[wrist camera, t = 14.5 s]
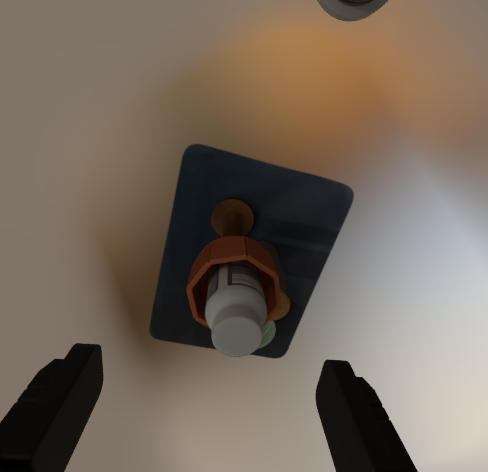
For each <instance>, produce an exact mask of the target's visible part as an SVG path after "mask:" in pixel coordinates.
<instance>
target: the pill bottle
mask: <svg viewBox="0 0 488 472" xmlns="http://www.w3.org/2000/svg"><path fill="white" fill-rule="evenodd" d="M205 317H206V321H207V324H208V326H209V327H210V329H211V330H212V342H213V344H214V346H215V348H216V349H217V350H218V351H220V352H221V353H223V354H225V355H227V356H232V357H241V356H245V355H248V354H250V353H252V352H254V351H255V350H256V349H257V348H258V347H259V346H260V344H261V342H262V338H263V332H262V326H263V325H264V323H265V321H266V317H267V306H266V301H265V297H264V292H263V287H262V282H261V277H260V272H259V269H258V267H257V266H255V265H254V264H252V263H251V262H249V261H248V260H240V261H233V262H226V263H219V264H213V265H212V267H211V270H210V275H209V283H208V293H207V300H206V308H205Z"/></svg>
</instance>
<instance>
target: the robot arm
mask: <svg viewBox="0 0 488 472" xmlns="http://www.w3.org/2000/svg"><path fill="white" fill-rule="evenodd" d="M338 1H340V2H341V3H343V4H345V5H348V6H362V5H365V4H368V3H370V2H372V1H373V0H338ZM102 385H103V364H102V351H101V346H100V345H97V344H96V345H95V344H81V343H77V344H75V345H74V346H73V347H72V348H71V350H70V351H69V353H68V354H67V356H66V357H65V358H64V359H54V360H53V361H52V362H50V363H49V364H48V365H46V366H45V367H44V368H42V369H41V370H40V371H39V372H38V373H37V374H36V376H35V377H34V378H33V380H32V381H31V382H30V384H29V385H28V386H27V389H26V390H24V392H23V393H22V394H21V396H20V397H19V399H18V401H17V403H15V404H14V405H13V406H12V408H11V409H10V411H9V412H8V413H7V415H6V416H5V417H4V419H3V420H2V421H1V423H0V472H64V471H65V469H66V466H67V465H68V462H69V460H70V458H71V456H72V454H73V451H74V449H75V447H76V445H77V443H78V441H79V439H80V436H81V434H82V432H83V430H84V428H85V426H86V424H87V422H88V419H89V417H90V415H91V413H92V411H93V409H94V406H95V404H96V402H97V400H98V398H99V395H100V392H101V389H102ZM316 405H317V409H318V413H319V416H320V419H321V423H322V426H323V429H324V433H325V436H326V439H327V442H328V446H329V449H330V452H331V456H332V459H333V462H334V466H335V469H336V472H418V471H417V469H416V468H415V466H414V464H413V462H412V460H411V458H410V456H409V454H408V452H407V451H406V449H405V447H404V445H403V443H402V441H401V439H400V437H399V435H398V434H397V432H396V430H395V428H394V426H393V424H392V422H391V421H390V420H389V417H388V415H387V413H386V411H385V409H384V408H383V407H382V403H381V401H380V400H379V398H378V396H377V394H376V392H375V390H374V389H373V388H372V387H371V386H370V385H369V384H368V383H367V382H366V381H365V379H364V378H363V377H356V376H355V374H354V372H353V369H352V367H351V365H350V364H349V362H347V361H341V360H326V361H325V362H324V365H323V368H322V372H321V375H320V378H319V382H318V385H317V388H316Z"/></svg>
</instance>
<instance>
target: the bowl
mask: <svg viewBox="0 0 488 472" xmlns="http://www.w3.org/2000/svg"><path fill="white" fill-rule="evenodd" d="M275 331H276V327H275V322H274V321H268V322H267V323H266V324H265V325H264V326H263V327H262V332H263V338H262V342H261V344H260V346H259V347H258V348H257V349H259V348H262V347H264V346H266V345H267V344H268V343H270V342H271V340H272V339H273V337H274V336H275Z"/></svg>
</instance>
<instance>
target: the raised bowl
mask: <svg viewBox="0 0 488 472" xmlns="http://www.w3.org/2000/svg"><path fill="white" fill-rule="evenodd" d="M240 260H248V261H249V262H251V263H252V264H254V265H255V266H257V267H258V269H259V272H260V277H261V282H262V287H263V292H264V297H265V301H266V306H267V317H266V321H265V323H264V325H265V324H266V323H267V322H268V321H269V320H270V319H271V318H272V317H273V316H274V315H275V313H276V312H277V311H278V310H279V309H280V308H281V305H282V303H281V293H280V284H279V276H278V272H277V269H276V266H275V263H274V259H273V256H272V255H271V253H270V252H268V251H267V250H266V249H265V248H264V247H263V246H262V245H261V244H259V243H258V242H256V241H255V240H252V239H250V238H248V237H244V236H226V237H222V238H219V239H216V240H213V241H212V242H209V244H208V245H207V246H206V247H205V248H204V249H203V250H202V251H201V253H200V254H199V256H198V258H197V259H196V261H195V262H194V263H193V265H192V269H191V273H190V277H189V281H188V285H187V289H186V290H187V294H188V298H189V302H190V306H191V310H192V314H193V318H195V320H196V321H198V322H200V323H202V324H203V325H205V326H207V327H209V326H208V324H207V321H206V317H205V308H206V300H207V293H208V283H209V275H210V270H211V267H212V265H213V264H219V263H226V262H233V261H240ZM264 325H263V326H264ZM263 326H262V327H263ZM209 328H210V327H209Z"/></svg>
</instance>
